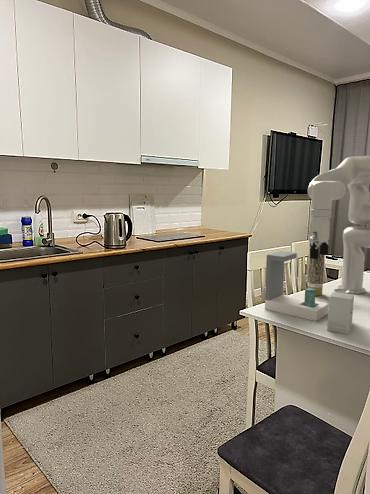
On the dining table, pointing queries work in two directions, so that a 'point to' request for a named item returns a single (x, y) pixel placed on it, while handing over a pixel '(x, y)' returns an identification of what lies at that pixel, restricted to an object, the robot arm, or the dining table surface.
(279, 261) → the socket block
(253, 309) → the dining table surface
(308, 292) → the peg
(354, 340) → the dining table surface
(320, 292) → the paper tube
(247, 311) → the dining table surface
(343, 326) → the supplement box
